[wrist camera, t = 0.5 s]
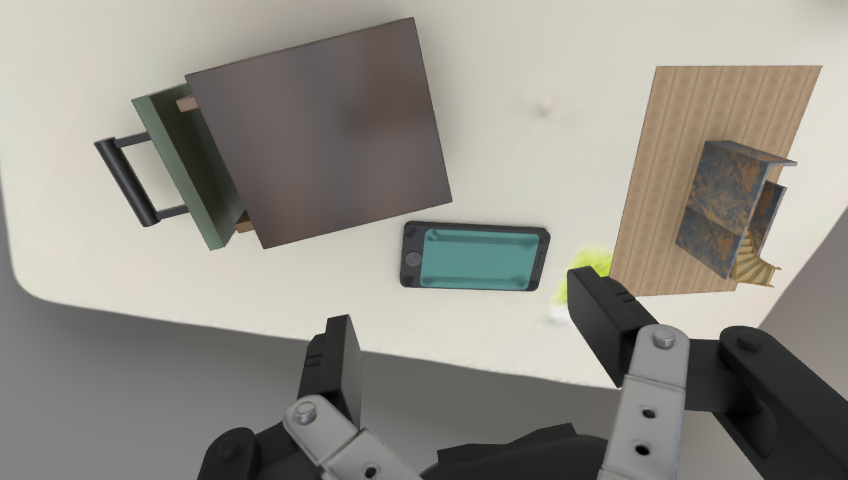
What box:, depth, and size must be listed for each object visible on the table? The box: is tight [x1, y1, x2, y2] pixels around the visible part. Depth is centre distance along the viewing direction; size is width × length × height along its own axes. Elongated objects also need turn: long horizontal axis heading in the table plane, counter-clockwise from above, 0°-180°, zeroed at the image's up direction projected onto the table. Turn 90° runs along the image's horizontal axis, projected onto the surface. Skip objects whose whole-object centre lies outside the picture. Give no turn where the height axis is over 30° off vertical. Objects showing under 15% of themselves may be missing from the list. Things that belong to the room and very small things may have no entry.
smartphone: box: [400, 221, 551, 291], centre depth 45 cm, size 7×1×15 cm
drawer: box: [94, 83, 255, 251], centre depth 34 cm, size 19×11×8 cm, turn 103°
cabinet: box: [185, 17, 452, 249], centre depth 34 cm, size 15×13×10 cm
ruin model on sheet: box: [609, 66, 822, 297], centre depth 41 cm, size 25×16×10 cm, turn 0°
